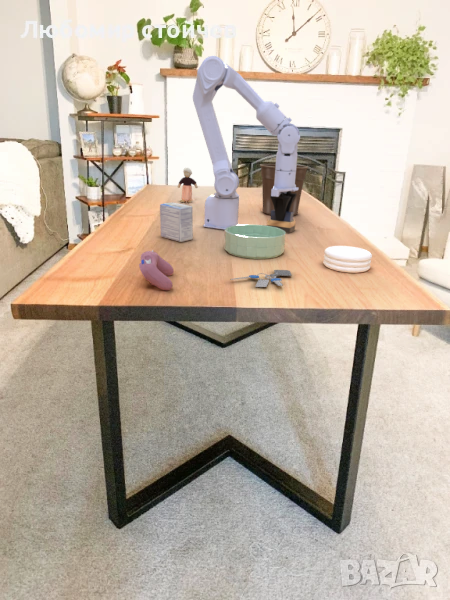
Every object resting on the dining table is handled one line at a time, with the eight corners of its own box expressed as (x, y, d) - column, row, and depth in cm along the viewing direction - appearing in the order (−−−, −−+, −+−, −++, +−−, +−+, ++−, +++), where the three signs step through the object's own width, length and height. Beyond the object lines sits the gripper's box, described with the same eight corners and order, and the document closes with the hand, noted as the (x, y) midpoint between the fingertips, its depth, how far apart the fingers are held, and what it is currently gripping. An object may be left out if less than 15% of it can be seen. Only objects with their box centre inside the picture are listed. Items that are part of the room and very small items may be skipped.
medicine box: (193, 240, 114) (193, 206, 111) (180, 242, 111) (180, 208, 108) (173, 234, 119) (172, 202, 116) (160, 237, 116) (159, 203, 113)
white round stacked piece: (313, 262, 99) (315, 246, 98) (350, 258, 103) (352, 243, 101) (341, 275, 90) (343, 258, 89) (379, 271, 94) (382, 255, 93)
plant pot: (271, 207, 165) (275, 162, 159) (311, 213, 156) (316, 165, 150) (248, 213, 153) (250, 164, 147) (289, 219, 144) (294, 168, 138)
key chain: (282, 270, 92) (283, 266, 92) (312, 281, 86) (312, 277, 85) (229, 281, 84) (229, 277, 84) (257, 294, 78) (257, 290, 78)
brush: (266, 230, 128) (267, 211, 126) (272, 227, 132) (273, 208, 130) (289, 233, 125) (291, 213, 123) (294, 230, 129) (296, 211, 127)
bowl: (213, 253, 103) (214, 232, 101) (240, 241, 115) (240, 222, 113) (270, 263, 97) (272, 240, 95) (292, 249, 109) (293, 229, 107)
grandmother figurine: (177, 202, 168) (177, 167, 163) (177, 200, 172) (177, 166, 167) (197, 203, 169) (198, 168, 164) (197, 201, 172) (197, 167, 168)
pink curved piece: (155, 281, 87) (137, 250, 85) (175, 271, 87) (158, 240, 84) (151, 299, 78) (132, 265, 76) (174, 289, 78) (155, 254, 75)
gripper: (290, 173, 115) (286, 225, 120) (307, 169, 127) (302, 217, 132) (265, 171, 118) (262, 222, 123) (284, 168, 130) (280, 214, 135)
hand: (281, 219), depth 127 cm, fingers closed on brush, 2 cm apart
